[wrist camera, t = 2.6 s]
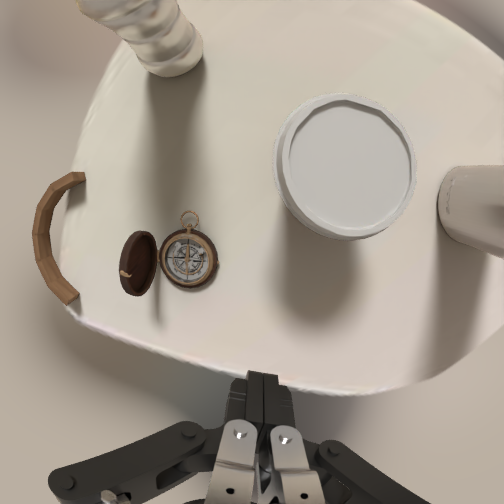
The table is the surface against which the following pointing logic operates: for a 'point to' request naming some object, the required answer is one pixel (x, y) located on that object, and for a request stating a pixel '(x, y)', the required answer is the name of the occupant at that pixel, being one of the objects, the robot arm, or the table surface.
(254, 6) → the table surface
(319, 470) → the robot arm
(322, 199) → the disposable coffee cup
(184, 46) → the plastic bottle
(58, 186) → the brown segmented arc
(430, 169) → the table surface
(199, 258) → the compass
